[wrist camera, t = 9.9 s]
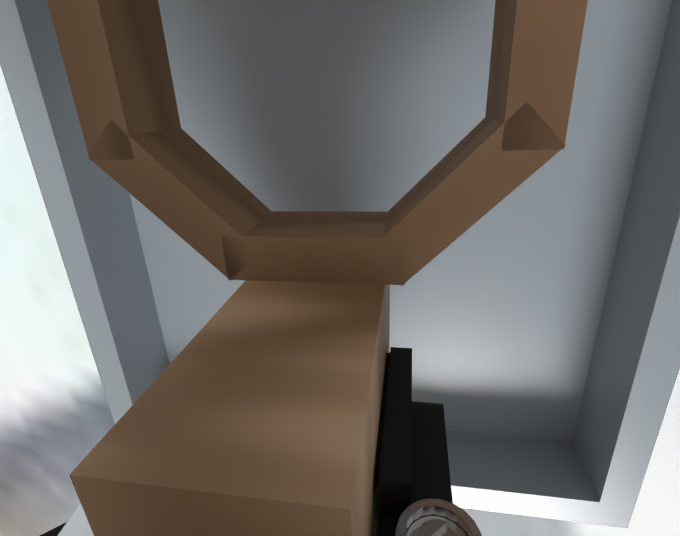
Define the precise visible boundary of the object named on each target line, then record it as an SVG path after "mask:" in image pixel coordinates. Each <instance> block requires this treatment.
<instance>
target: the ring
mask: <svg viewBox="0 0 680 536" xmlns="http://www.w3.org/2000/svg"><path fill="white" fill-rule="evenodd" d="M47 3H48V6H49V10H50V14H51V18H52V21H53V25H54V29H55V32H56V36H57V40H58V44H59V47H60V51H61V55H62V58H63V62H64V66H65V70H66V73H67V77H68V81H69V84H70V88H71V92H72V96H73V99H74V103H75V107H76V111H77V114H78V118H79V122H80V125H81V129H82V133H83V137H84V140H85V144H86V148H87V151H88V155H89V156H88V158H89V159H90V160H92V161H93V162H94V163H95V164H96V165H98V166H99V167H100V168H101V169H102V170H103V171H105V172H106V173H107V174H108V175H109V176H110V177H111V178H113V179H114V180H115V181H116V182H117V183H118V184H120V185H121V186H122V187H123V188H124V189H125V190H127V191H128V192H129V193H130V194H131V195H132V196H133V197H135V198H136V199H137V200H138V201H139V202H140V203H142V204H143V205H144V206H145V207H146V208H147V209H148V210H150V211H151V212H152V213H153V214H154V215H155V216H157V217H158V218H159V219H160V220H161V221H162V222H163V223H165V224H166V225H167V226H168V227H169V228H170V229H172V230H173V231H174V232H175V233H176V234H177V235H178V236H180V237H181V238H182V239H183V240H184V241H185V242H187V243H188V244H189V245H190V246H191V247H192V248H193V249H195V250H196V251H197V252H198V253H199V254H200V255H202V256H203V257H204V258H205V259H206V260H207V261H209V262H210V263H211V264H212V265H213V266H214V267H215V268H217V269H218V270H219V271H220V272H221V273H222V274H224V275H225V276H226V277H227V278H228V280H230V281H231V280H245V282H244V283H243V284H242V285H241V286H240V287H239V288H238V289H237V290H236V291H235V293H234V294H233V295H232V296H231V297H230V298H229V299H228V300H227V301H226V303H225V304H224V305H223V306H222V307H221V308H220V309H219V310H218V311H217V312H216V314H215V315H214V316H213V317H212V318H211V319H210V320H209V321H208V322H207V324H206V325H205V326H204V327H203V328H202V329H201V330H200V331H199V332H198V333H197V335H196V336H195V337H194V338H193V339H192V340H191V341H190V342H189V343H188V345H187V346H186V347H185V348H184V349H183V350H182V351H181V352H180V353H179V354H178V356H177V357H176V358H175V359H174V360H173V361H172V362H171V363H170V364H169V365H168V367H167V368H166V369H165V370H164V371H163V372H162V373H161V374H160V375H159V377H158V378H157V379H156V380H155V381H154V382H153V383H152V384H151V385H150V386H149V388H148V389H147V390H146V391H145V392H144V393H143V394H142V395H141V396H140V398H139V399H138V400H137V401H136V402H135V403H134V404H133V405H132V406H131V407H130V409H129V410H128V411H127V412H126V413H125V414H124V415H123V416H122V417H121V419H120V420H119V421H118V422H117V423H116V424H115V425H114V426H113V427H112V428H111V430H110V431H109V432H108V433H107V434H106V435H105V436H104V437H103V438H102V440H101V441H100V442H99V443H98V444H97V445H96V446H95V447H94V448H93V449H92V451H91V452H90V453H89V454H88V455H87V456H86V457H85V458H84V459H83V461H82V462H81V463H80V464H79V465H78V466H77V467H76V468H75V469H74V470H73V472H72V473H71V474H70V478H71V480H72V483H73V485H74V488H75V490H76V492H77V495H78V497H79V500H80V502H81V505H82V507H83V510H84V512H85V515H86V517H87V520H88V522H89V525H90V527H91V530H92V532H93V535H94V536H374V469H375V459H376V449H377V440H378V430H379V420H380V411H381V401H382V392H383V382H384V373H385V363H386V354H387V353H389V345H390V285H401V286H402V285H405V283H406V282H407V281H408V280H409V279H410V278H412V277H413V276H414V275H415V274H416V273H417V272H419V271H420V270H421V269H422V268H423V267H425V266H426V265H427V264H428V263H429V262H430V261H432V260H433V259H434V258H435V257H436V256H437V255H439V254H440V253H441V252H442V251H443V250H444V249H446V248H447V247H448V246H449V245H450V244H451V243H453V242H454V241H455V240H456V239H457V238H458V237H460V236H461V235H462V234H463V233H464V232H466V231H467V230H468V229H469V228H470V227H471V226H473V225H474V224H475V223H476V222H477V221H478V220H480V219H481V218H482V217H483V216H484V215H485V214H487V213H488V212H489V211H490V210H491V209H492V208H494V207H495V206H496V205H497V204H498V203H499V202H501V201H502V200H503V199H504V198H505V197H507V196H508V195H509V194H510V193H511V192H512V191H514V190H515V189H516V188H517V187H518V186H519V185H521V184H522V183H523V182H524V181H525V180H526V179H528V178H529V177H530V176H531V175H532V174H533V173H535V172H536V171H537V170H538V169H539V168H540V167H542V166H543V165H544V164H545V163H546V162H548V161H549V160H550V159H551V158H552V157H553V156H555V155H556V154H557V153H558V152H559V151H560V150H562V149H564V147H565V146H566V145H565V140H566V134H567V128H568V122H569V116H570V109H571V103H572V97H573V91H574V84H575V78H576V72H577V66H578V59H579V53H580V47H581V41H582V35H583V28H584V22H585V16H586V10H587V3H588V0H496V1H495V12H494V24H493V35H492V47H491V58H490V70H489V81H488V92H487V104H486V115H485V118H484V119H483V120H482V121H481V122H480V123H479V124H478V125H477V126H476V127H475V128H474V129H473V130H471V131H470V132H469V133H468V134H467V135H466V136H465V137H464V138H463V139H462V140H461V141H460V142H459V143H458V144H457V145H456V146H455V147H454V148H453V149H452V150H451V151H450V152H449V153H448V154H447V155H446V156H445V157H444V158H443V159H442V160H441V161H439V162H438V163H437V164H436V165H435V166H434V167H433V168H432V169H431V170H430V171H429V172H428V173H427V174H426V175H425V176H424V177H423V178H422V179H421V180H420V181H419V182H418V183H417V184H416V185H415V186H414V187H413V188H412V189H411V190H410V191H409V192H407V193H406V194H405V195H404V196H403V197H402V198H401V199H400V200H399V201H398V202H397V203H396V204H395V205H394V206H393V207H392V208H391V209H390V210H389V211H271V210H270V209H269V208H268V207H267V206H265V205H264V204H263V203H262V202H261V201H260V200H259V199H258V198H257V197H256V196H255V195H253V194H252V193H251V192H250V191H249V190H248V189H247V188H246V187H245V186H244V185H243V184H242V183H240V182H239V181H238V180H237V179H236V178H235V177H234V176H233V175H232V174H231V173H230V172H228V171H227V170H226V169H225V168H224V167H223V166H222V165H221V164H220V163H219V162H218V161H216V160H215V159H214V158H213V157H212V156H211V155H210V154H209V153H208V152H207V151H206V150H204V149H203V148H202V147H201V146H200V145H199V144H198V143H197V142H196V141H195V140H194V139H192V138H191V137H190V136H189V135H188V134H187V133H186V132H185V131H184V130H183V129H182V128H181V125H180V119H179V114H178V108H177V103H176V97H175V91H174V86H173V80H172V75H171V69H170V64H169V58H168V53H167V47H166V42H165V36H164V31H163V25H162V20H161V14H160V9H159V3H158V0H47Z"/></svg>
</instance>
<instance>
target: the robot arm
mask: <svg viewBox="0 0 680 536" xmlns="http://www.w3.org/2000/svg"><path fill="white" fill-rule="evenodd" d="M40 536H94V535H93V532H92V530H91V527H90V525H89V522H88V520H87V517H86V515H85V512H84V510H83V507H82V505H81V504H80V505H79V506H78V508H77V509H76V511H75V512H74V513H73V515H72V516H71V518H70V519H69V520H68V522H66V523H64V524H62V525H60V526H58V527H56V528H54V529H52V530H50V531H48V532H46V533H44V534H42V535H40ZM374 536H481V532H480V531H479V529H478V527H477V525H476V523H475V522H474V520H473V519H472V518H471V517H470V516H469V515H468V514H467V513H466V512H465V511H464V510H463V509H461V508H459V507H458V506H456V505H455V504H453V501H452V491H451V480H450V470H449V459H448V448H447V438H446V427H445V417H444V408H443V404H441V403H428V402H415V401H412V348H399V347H391V350H390V353H387V354H386V363H385V373H384V382H383V392H382V401H381V411H380V420H379V430H378V440H377V449H376V459H375V469H374Z"/></svg>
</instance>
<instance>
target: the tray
mask: <svg viewBox="0 0 680 536" xmlns="http://www.w3.org/2000/svg"><path fill="white" fill-rule="evenodd" d="M495 1H496V0H158V3H159V9H160V14H161V20H162V25H163V31H164V36H165V42H166V47H167V53H168V58H169V64H170V69H171V75H172V80H173V86H174V91H175V97H176V103H177V108H178V114H179V119H180V125H181V128H182V129H183V130H184V131H185V132H186V133H187V134H188V135H189V136H190V137H191V138H192V139H194V140H195V141H196V142H197V143H198V144H199V145H200V146H201V147H202V148H203V149H204V150H206V151H207V152H208V153H209V154H210V155H211V156H212V157H213V158H214V159H215V160H216V161H218V162H219V163H220V164H221V165H222V166H223V167H224V168H225V169H226V170H227V171H228V172H230V173H231V174H232V175H233V176H234V177H235V178H236V179H237V180H238V181H239V182H240V183H242V184H243V185H244V186H245V187H246V188H247V189H248V190H249V191H250V192H251V193H252V194H253V195H255V196H256V197H257V198H258V199H259V200H260V201H261V202H262V203H263V204H264V205H265V206H267V207H268V208H269V209H270V210H271V211H389V210H390V209H391V208H392V207H393V206H394V205H395V204H396V203H397V202H398V201H399V200H400V199H401V198H402V197H403V196H404V195H405V194H406V193H407V192H409V191H410V190H411V189H412V188H413V187H414V186H415V185H416V184H417V183H418V182H419V181H420V180H421V179H422V178H423V177H424V176H425V175H426V174H427V173H428V172H429V171H430V170H431V169H432V168H433V167H434V166H435V165H436V164H437V163H438V162H439V161H441V160H442V159H443V158H444V157H445V156H446V155H447V154H448V153H449V152H450V151H451V150H452V149H453V148H454V147H455V146H456V145H457V144H458V143H459V142H460V141H461V140H462V139H463V138H464V137H465V136H466V135H467V134H468V133H469V132H470V131H471V130H473V129H474V128H475V127H476V126H477V125H478V124H479V123H480V122H481V121H482V120H483V119H484V118H485V115H486V104H487V92H488V81H489V70H490V58H491V47H492V35H493V24H494V12H495ZM0 65H1V68H2V71H3V74H4V77H5V81H6V84H7V87H8V90H9V93H10V96H11V99H12V103H13V106H14V109H15V112H16V115H17V118H18V121H19V125H20V128H21V131H22V134H23V137H24V140H25V143H26V146H27V150H28V153H29V156H30V159H31V162H32V165H33V168H34V172H35V175H36V178H37V181H38V184H39V187H40V190H41V194H42V197H43V200H44V203H45V206H46V209H47V212H48V216H49V219H50V222H51V225H52V228H53V231H54V234H55V237H56V241H57V244H58V247H59V250H60V253H61V256H62V259H63V263H64V266H65V269H66V272H67V275H68V278H69V281H70V285H71V288H72V291H73V294H74V297H75V300H76V303H77V307H78V310H79V313H80V316H81V319H82V322H83V325H84V328H85V332H86V335H87V338H88V341H89V344H90V347H91V350H92V354H93V357H94V360H95V363H96V366H97V369H98V372H99V376H100V379H101V382H102V385H103V388H104V391H105V394H106V397H107V401H108V404H109V407H110V410H111V413H112V416H113V419H114V423H115V424H116V423H117V422H118V421H119V420H120V419H121V417H122V416H123V415H124V414H125V413H126V412H127V411H128V410H129V409H130V407H131V406H132V405H133V404H134V403H135V402H136V401H137V400H138V399H139V398H140V396H141V395H142V394H143V393H144V392H145V391H146V390H147V389H148V388H149V386H150V385H151V384H152V383H153V382H154V381H155V380H156V379H157V378H158V377H159V375H160V374H161V373H162V372H163V371H164V370H165V369H166V368H167V367H168V365H169V364H170V363H171V362H172V361H173V360H174V359H175V358H176V357H177V356H178V354H179V353H180V352H181V351H182V350H183V349H184V348H185V347H186V346H187V345H188V343H189V342H190V341H191V340H192V339H193V338H194V337H195V336H196V335H197V333H198V332H199V331H200V330H201V329H202V328H203V327H204V326H205V325H206V324H207V322H208V321H209V320H210V319H211V318H212V317H213V316H214V315H215V314H216V312H217V311H218V310H219V309H220V308H221V307H222V306H223V305H224V304H225V303H226V301H227V300H228V299H229V298H230V297H231V296H232V295H233V294H234V293H235V291H236V290H237V289H238V288H239V287H240V286H241V285H242V284H243V283H244V282H245V280H231V281H230V280H228V278H227V277H226V276H225V275H224V274H222V273H221V272H220V271H219V270H218V269H217V268H215V267H214V266H213V265H212V264H211V263H210V262H209V261H207V260H206V259H205V258H204V257H203V256H202V255H200V254H199V253H198V252H197V251H196V250H195V249H193V248H192V247H191V246H190V245H189V244H188V243H187V242H185V241H184V240H183V239H182V238H181V237H180V236H178V235H177V234H176V233H175V232H174V231H173V230H172V229H170V228H169V227H168V226H167V225H166V224H165V223H163V222H162V221H161V220H160V219H159V218H158V217H157V216H155V215H154V214H153V213H152V212H151V211H150V210H148V209H147V208H146V207H145V206H144V205H143V204H142V203H140V202H139V201H138V200H137V199H136V198H135V197H133V196H132V195H131V194H130V193H129V192H128V191H127V190H125V189H124V188H123V187H122V186H121V185H120V184H118V183H117V182H116V181H115V180H114V179H113V178H111V177H110V176H109V175H108V174H107V173H106V172H105V171H103V170H102V169H101V168H100V167H99V166H98V165H96V164H95V163H94V162H93V161H92V160H90V159H89V158H88V156H89V155H88V151H87V148H86V144H85V140H84V137H83V133H82V129H81V125H80V122H79V118H78V114H77V111H76V107H75V103H74V99H73V96H72V92H71V88H70V84H69V81H68V77H67V73H66V70H65V66H64V62H63V58H62V55H61V51H60V47H59V44H58V40H57V36H56V32H55V29H54V25H53V21H52V18H51V14H50V10H49V6H48V3H47V0H0ZM565 145H566V146H565V147H564V149H562V150H560V151H559V152H558V153H557V154H556V155H555V156H553V157H552V158H551V159H550V160H549V161H548V162H546V163H545V164H544V165H543V166H542V167H540V168H539V169H538V170H537V171H536V172H535V173H533V174H532V175H531V176H530V177H529V178H528V179H526V180H525V181H524V182H523V183H522V184H521V185H519V186H518V187H517V188H516V189H515V190H514V191H512V192H511V193H510V194H509V195H508V196H507V197H505V198H504V199H503V200H502V201H501V202H499V203H498V204H497V205H496V206H495V207H494V208H492V209H491V210H490V211H489V212H488V213H487V214H485V215H484V216H483V217H482V218H481V219H480V220H478V221H477V222H476V223H475V224H474V225H473V226H471V227H470V228H469V229H468V230H467V231H466V232H464V233H463V234H462V235H461V236H460V237H458V238H457V239H456V240H455V241H454V242H453V243H451V244H450V245H449V246H448V247H447V248H446V249H444V250H443V251H442V252H441V253H440V254H439V255H437V256H436V257H435V258H434V259H433V260H432V261H430V262H429V263H428V264H427V265H426V266H425V267H423V268H422V269H421V270H420V271H419V272H417V273H416V274H415V275H414V276H413V277H412V278H410V279H409V280H408V281H407V282H406V283H405V285H402V286H401V285H390V345H389V353H390V350H391V347H399V348H412V401H415V402H428V403H441V404H443V408H444V417H445V427H446V438H447V448H448V459H449V470H450V480H451V491H452V501H453V504H455V505H456V506H458V507H459V508H467V509H475V510H483V511H492V512H500V513H508V514H516V515H524V516H533V517H541V518H549V519H557V520H565V521H574V522H582V523H590V524H598V525H607V526H615V527H623V528H628V525H629V522H630V519H631V516H632V513H633V510H634V507H635V504H636V501H637V498H638V494H639V491H640V488H641V485H642V482H643V479H644V476H645V473H646V470H647V467H648V464H649V461H650V458H651V454H652V451H653V448H654V445H655V442H656V439H657V436H658V433H659V430H660V427H661V424H662V421H663V418H664V414H665V411H666V408H667V405H668V402H669V399H670V396H671V393H672V390H673V387H674V384H675V381H676V378H677V374H678V371H679V368H680V0H588V3H587V10H586V16H585V22H584V28H583V35H582V41H581V47H580V53H579V59H578V66H577V72H576V78H575V84H574V91H573V97H572V103H571V109H570V116H569V122H568V128H567V134H566V140H565Z"/></svg>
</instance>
